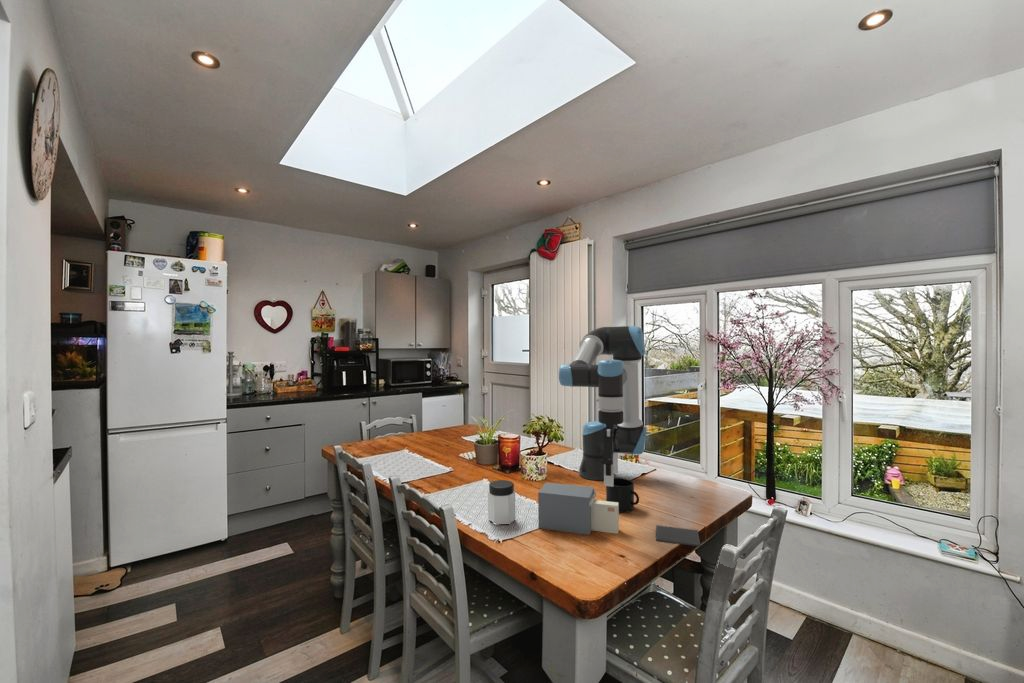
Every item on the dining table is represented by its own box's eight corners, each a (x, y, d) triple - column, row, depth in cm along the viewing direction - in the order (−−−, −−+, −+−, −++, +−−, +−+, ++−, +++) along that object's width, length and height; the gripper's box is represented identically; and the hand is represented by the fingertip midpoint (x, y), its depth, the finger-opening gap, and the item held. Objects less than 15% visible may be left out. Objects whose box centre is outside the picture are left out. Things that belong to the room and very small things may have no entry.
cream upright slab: (577, 524, 139) (576, 497, 139) (618, 529, 135) (618, 502, 135) (575, 528, 136) (575, 501, 136) (617, 534, 132) (617, 506, 132)
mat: (656, 526, 136) (656, 525, 136) (697, 531, 132) (697, 530, 132) (656, 540, 127) (656, 539, 127) (700, 546, 123) (700, 545, 123)
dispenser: (546, 515, 146) (546, 482, 146) (596, 521, 140) (596, 487, 140) (538, 528, 136) (538, 492, 136) (591, 535, 131) (591, 498, 131)
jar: (515, 515, 146) (515, 479, 146) (515, 525, 138) (515, 487, 138) (489, 515, 146) (488, 479, 146) (487, 525, 138) (487, 488, 138)
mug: (632, 517, 144) (631, 490, 144) (601, 507, 152) (600, 482, 152) (645, 509, 150) (645, 483, 150) (615, 500, 159) (615, 476, 159)
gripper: (603, 404, 147) (603, 466, 147) (592, 415, 123) (593, 490, 123) (626, 404, 144) (626, 468, 144) (619, 417, 121) (620, 493, 121)
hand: (611, 479), depth 134 cm, fingers open, 13 cm apart
